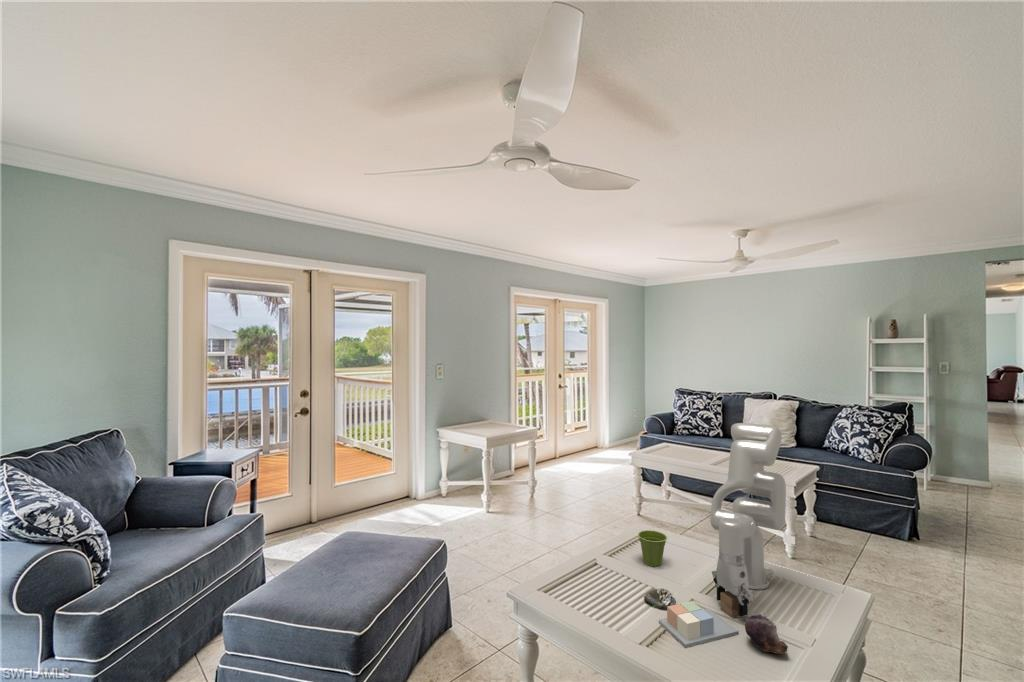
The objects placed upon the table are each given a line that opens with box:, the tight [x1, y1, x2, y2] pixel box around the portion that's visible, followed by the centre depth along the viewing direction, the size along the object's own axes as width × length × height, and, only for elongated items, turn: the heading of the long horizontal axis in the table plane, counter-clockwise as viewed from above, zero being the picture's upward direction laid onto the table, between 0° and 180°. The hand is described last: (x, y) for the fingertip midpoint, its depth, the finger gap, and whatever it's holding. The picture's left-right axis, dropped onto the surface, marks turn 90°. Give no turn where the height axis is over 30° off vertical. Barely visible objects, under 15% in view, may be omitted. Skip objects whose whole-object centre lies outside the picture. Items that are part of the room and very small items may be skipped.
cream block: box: [677, 612, 700, 640], centre depth 142 cm, size 5×5×5 cm
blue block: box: [690, 608, 714, 636], centre depth 144 cm, size 5×5×5 cm
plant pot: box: [637, 529, 668, 567], centre depth 191 cm, size 12×12×11 cm
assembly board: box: [658, 608, 740, 649], centre depth 146 cm, size 20×13×1 cm, turn 108°
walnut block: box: [719, 590, 744, 619], centre depth 155 cm, size 5×5×6 cm
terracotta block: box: [666, 603, 689, 630], centre depth 147 cm, size 5×5×5 cm
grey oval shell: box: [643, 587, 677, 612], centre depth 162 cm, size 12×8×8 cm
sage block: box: [679, 600, 703, 612], centre depth 149 cm, size 5×5×5 cm
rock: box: [744, 613, 789, 655], centre depth 137 cm, size 12×9×10 cm
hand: (731, 607), depth 155 cm, fingers open, 9 cm apart
